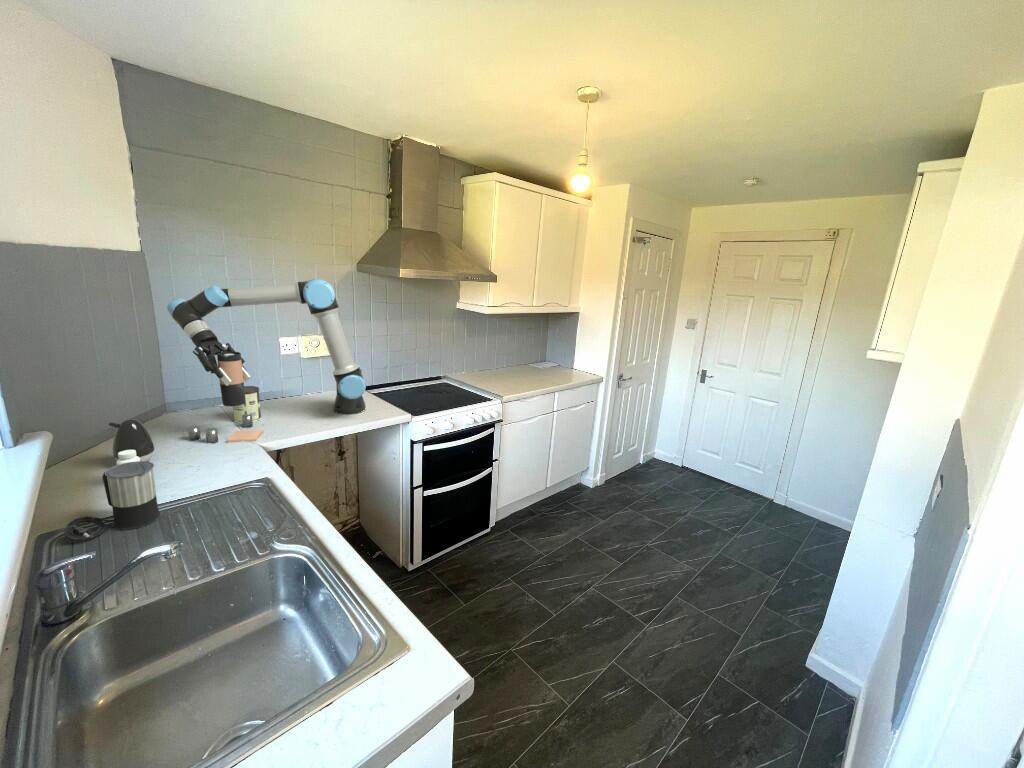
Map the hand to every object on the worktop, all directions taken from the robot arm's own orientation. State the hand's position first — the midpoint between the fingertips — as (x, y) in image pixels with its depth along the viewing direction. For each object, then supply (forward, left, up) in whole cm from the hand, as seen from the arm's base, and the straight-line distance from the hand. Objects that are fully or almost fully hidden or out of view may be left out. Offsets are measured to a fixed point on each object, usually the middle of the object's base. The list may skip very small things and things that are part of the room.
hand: (238, 381), depth 158 cm
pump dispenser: (+25, +21, -23) cm, 40 cm away
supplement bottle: (+19, +35, -23) cm, 46 cm away
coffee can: (+5, -22, -23) cm, 33 cm away
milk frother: (+10, +60, -23) cm, 65 cm away
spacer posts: (+9, -5, -23) cm, 25 cm away
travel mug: (+3, -2, -10) cm, 10 cm away
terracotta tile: (-1, 0, -23) cm, 23 cm away
